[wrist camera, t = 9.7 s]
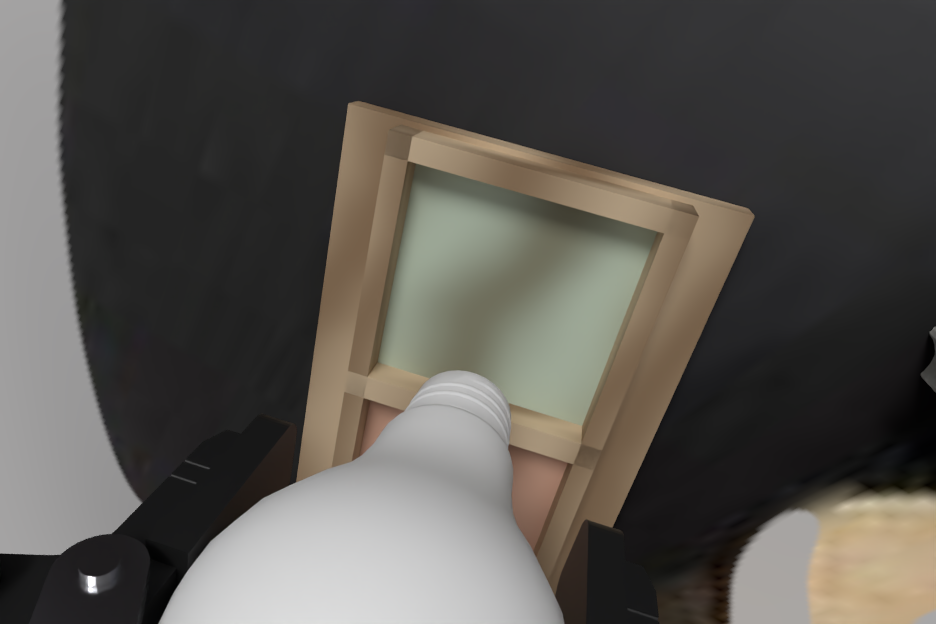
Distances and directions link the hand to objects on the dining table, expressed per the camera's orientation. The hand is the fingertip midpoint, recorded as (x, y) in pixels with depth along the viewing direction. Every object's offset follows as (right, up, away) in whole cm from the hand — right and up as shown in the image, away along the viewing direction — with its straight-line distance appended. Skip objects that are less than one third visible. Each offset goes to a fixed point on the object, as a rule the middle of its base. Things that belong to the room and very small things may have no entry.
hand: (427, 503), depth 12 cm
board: (+1, +1, +13) cm, 13 cm away
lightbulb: (+1, +2, +4) cm, 4 cm away
